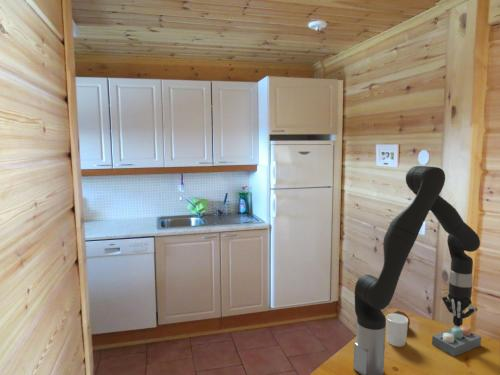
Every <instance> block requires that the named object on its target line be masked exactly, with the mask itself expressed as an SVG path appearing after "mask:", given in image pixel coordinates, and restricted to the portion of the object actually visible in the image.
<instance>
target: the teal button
mask: <svg viewBox="0 0 500 375" xmlns="http://www.w3.org/2000/svg"><path fill="white" fill-rule="evenodd" d="M456 327H457V326H455V327H453V326H452V327H451V329H452V330H451V334H452V335H454V338H455V339H457V340H458V341H459V340H461V339H462V338H463V330H462V329H460V328H456Z"/></svg>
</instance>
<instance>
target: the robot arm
mask: <svg viewBox="0 0 500 375" xmlns="http://www.w3.org/2000/svg"><path fill="white" fill-rule="evenodd" d="M405 183H406V186H407V187H408V188H409V189H410V191H412V193H413V194H414V195H415V197H414V199H413V200H412V202H411V203H410V204H409V205H408V206H406V207H405V208H404V209H403V210H402V211H401V212H399V213H398V214H397V215H396V216H395V217H394V218H393V219H392V220H391V222H390V224H389V225H388V228H387V230H386V233H385V234H384V237H383V241H382V242H383V266H382V270H381V272H380V274H379V276H378V277H376V276H374V275H371V274H362V275H361V276H360V277H359V278H357V281H356V283H355V286H354V312H355V315H356V318H357V319H356V342H354V343H353V344H354V346H353V370H354V371H356V372H358V373H359V374H360V375H384V371H385V350H386V346H385V345H386V329H387V328H386V316H385V314H384V313H383V312H382V310H384V309H385V308H387V307H388V306H389V305H390V303H391V301H392V300H393V297H394V294H395V291H396V289H397V285H398V282H399V279H400V277H401V273H402V272H403V269H404V266H405V265H406V262H407V260H408V257H409V255H410V253H411V252H412V248H413V246H414V245H415V242H416V240H417V238H418V235H419V234H420V231H421V228H422V227H423V225H424V223H425V220H426V218H427V216H428V214H429V213H432V214H433V215H434V217H435V218H436V220H437V221H438V223H439V224H440V225H441V227H442V229H443V230H444V231H445V232H446V233H447V234H448V235H447V241H446V242H447V245H448V251H449V255H450V259H451V261H450V270H449V278H448V293H447V295H446V296H443V297H441V299H442V302H443V303H444V304H445V307H446V309H447V310H448V312H449V313H451V315H452V316H453V317H452V318H453V319H452V322H453V325H454V326H455V327H457V326H458V327H459V326H460V327H462V326H463V322H464V319H466V318H469V317H470V316H472V315H473V314H474V313H476V312H477V311H478V308H477V307H475V306H474V305H473V304H472V299H471V298H472V292H473V280H474V279H473V269H474V260H473V258H472V257H471V256H469V255H468V254H466V252H469V253H471V252H472V253H473V252H476V251H477V250H478V249H479V248H480V247H481V246H480V245H481V240H480V237H479V235H478V234H477V232H476V231H475V230H474V229H472V228H471V227H470V225H468V224H467V223H466V222H465V221H464V220H463V218H462V216H461V215H460V213H459V212H458V211H457V209H456V207H454V206H453V205H452V204H451V203H449V201H447V200H446V199H444V198H443V197H442V196H441V195H440V194H441V192H442V190H443V188H444V186H445V183H446V174H445V171H444V170H443V169H442V168H441V167H437V166H425V165H416V166H412V167H411V168H409V169H408V171H407V172H406V175H405ZM466 310H467V311H466Z"/></svg>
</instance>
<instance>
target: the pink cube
mask: <svg viewBox="0 0 500 375" xmlns="http://www.w3.org/2000/svg"><path fill="white" fill-rule="evenodd" d="M460 329H462V330H463V336H465V337H469V336H471V332H472V329H471V328H469V327H467V326H460Z"/></svg>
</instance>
